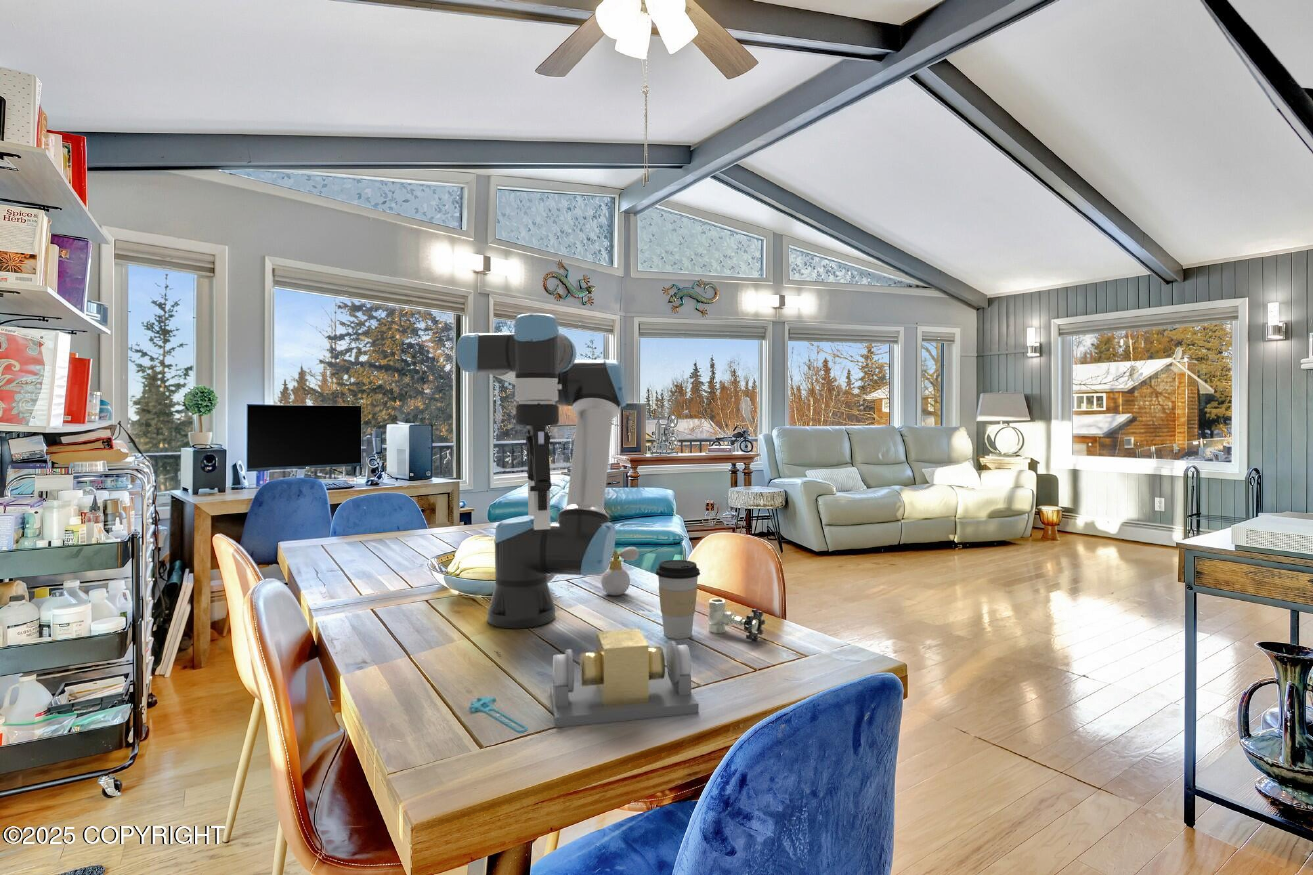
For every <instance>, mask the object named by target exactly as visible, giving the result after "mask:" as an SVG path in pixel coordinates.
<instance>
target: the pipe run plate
mask: <svg viewBox="0 0 1313 875" xmlns="http://www.w3.org/2000/svg"><path fill="white" fill-rule="evenodd" d="M574 665H575V664H574V655H573V649H571V648H569V649H565V653H564V654H562V653H561V654H554V655H553V656H552V684H550V699H551V705H552V714H553V720H554V727H555V728H556V729H557V728H566V727H576V726H578V727H579V726H584V725H586V726H588V725H596V724H604V723H605V724H606V723H615V722H623V721H624V722H626V721H634V720H643V719H644V720H645V719H652V718H653V719H655V718H662V717H663V718H664V717H673V716H684V715H692V714H693V715H694V714H699V713H700V711H699V710H700V708H699V704H700V703H699V702H698V700H697V698H696V697H695V695H694V694H693V693H692V658H691V651H690V648H689V646H688V644H679V645H678V644H677V642H676V641H675V640H673V641H668V642H667V644H666V648H665V665H666V671H667V674H665V676H664V679H658V680H649V702H648V703H637V704H627V705H617V706H607V707H604V705H603V702H602V699H601V696H600V693H599V690H598V687H597V685H592V686H582V685H581V681H579V682H575V668H574Z"/></svg>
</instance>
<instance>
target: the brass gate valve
mask: <svg viewBox="0 0 1313 875" xmlns="http://www.w3.org/2000/svg"><path fill="white" fill-rule="evenodd" d="M649 645H650V644H649V643H648V641H647V640H646V639H645V636H644V635H643V633H642V632H641V630H640V629H639V628H631V629H629V628H628V629H616V630H603V631H601V630H600V631H596V651H590V652H589V651H586V652H580V653H579V675H580V676H579V677H580V682H581V685H582V686H592V685H597V687H598V690H599V693H600V696H601V699H602V702H603V705H604V707H607V706H617V705H627V704H637V703H648V702H649V680H658V679H664V676H665V675H666V658H665V654H664V650H663V648H662V646H651V647H650V646H649Z"/></svg>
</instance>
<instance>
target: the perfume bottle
mask: <svg viewBox="0 0 1313 875" xmlns="http://www.w3.org/2000/svg"><path fill="white" fill-rule="evenodd" d="M639 555H640V553H639V550H638V548H636V547H635V546H628V547H625V548H623V549H622V550H621V551H620V552H619V553H618V551H617V549H614V552H613V556H612V559H611V562H610V565H609V567H608V569H607V570H606V571H605V572H604V573H603V574H601V580H600V583H601V587H602V589H603V591H604V592H605V593H606V594H607V595H610V596H621V595H623V594H625V593H626V592H627V591H628V589H629V588H630V585H631V584H630V583H631V577H630V574H629V573H628V572H627V570H626V569H625V568H623V567H622V559H623V560H624V561H636V559H638V557H639ZM618 557H620V558H621V559H619V558H618Z"/></svg>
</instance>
